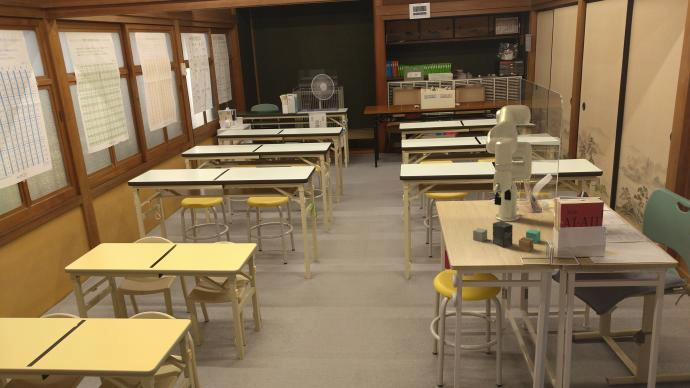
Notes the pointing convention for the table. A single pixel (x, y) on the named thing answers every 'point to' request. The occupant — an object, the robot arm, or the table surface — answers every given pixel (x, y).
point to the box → (502, 234)
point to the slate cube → (480, 234)
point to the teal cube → (533, 235)
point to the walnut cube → (526, 244)
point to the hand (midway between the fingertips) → (502, 202)
